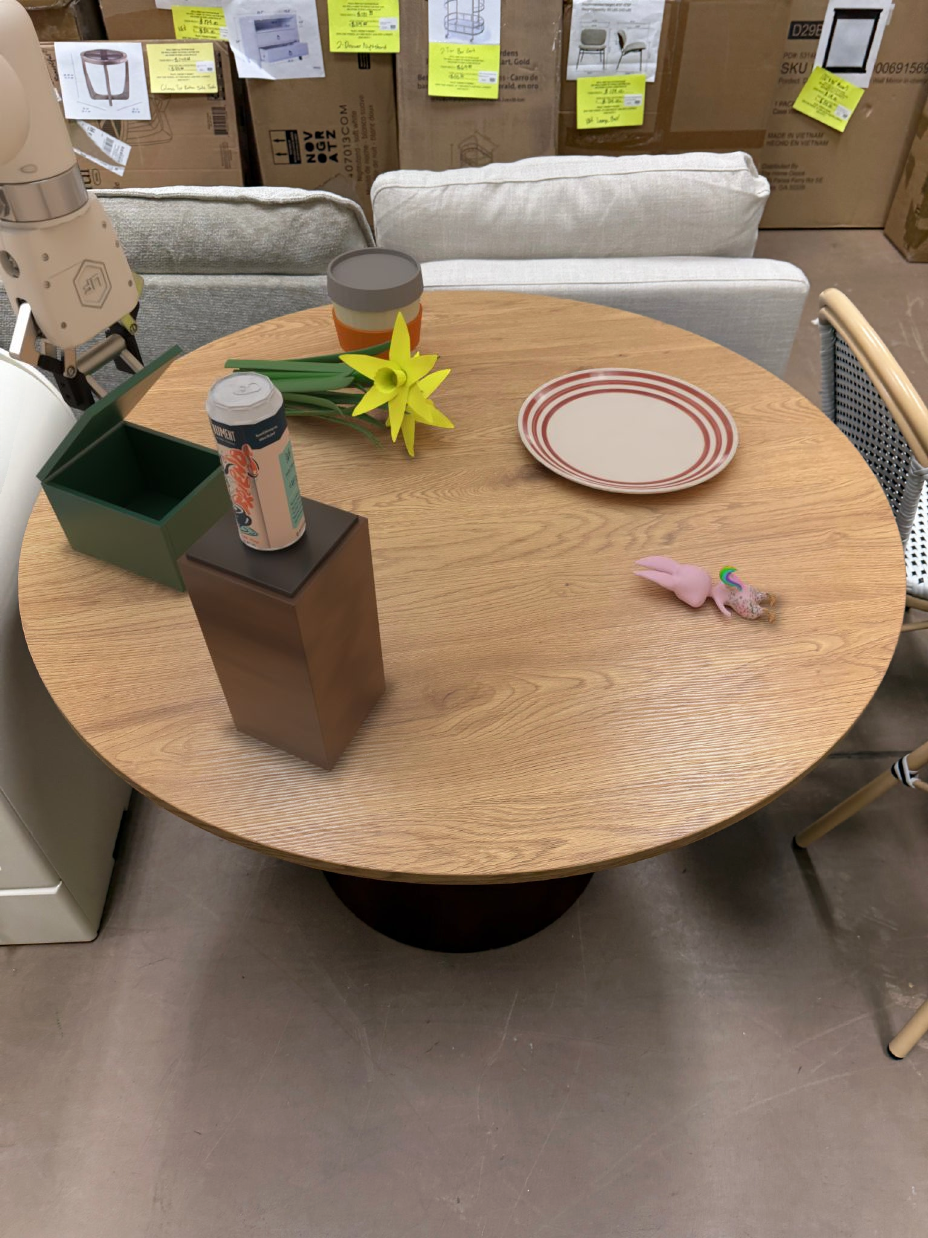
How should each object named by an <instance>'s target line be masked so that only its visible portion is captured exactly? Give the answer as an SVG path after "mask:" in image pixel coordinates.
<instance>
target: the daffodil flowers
mask: <svg viewBox="0 0 928 1238" xmlns="http://www.w3.org/2000/svg"><path fill="white" fill-rule="evenodd" d="M388 349H390V352H389V360H390V361H388V360H383V359H379V358H375V357H374V356H376V355H379V354H381V353H383V352H385V351H386V350H388ZM439 358H441V355H438V354H423V355H422V354H421V355H420V351H419V350H418V351H417V352H415V356H414V357H413V358H411V357H410V337H409V333H408V329H407V325H406V323H405V320H404V318H403V316H402V314H401V312H400V311H399V313H398V315H397V319H396V322H395V326H394V330H393V335H392V340H390V341H387V342H385V343H382V344H379V345H376V346H373V347H369V348H365V349H361V350H355V351H349V352H345V351H343V352H338V353H331V354H324V355H315V356H308V357H300V358H290V359H278V360H277V359H275V360H270V359H238V358H237V359H236V358H234V359H233V358H232V359H231V358H228V359H227V360H226V361H225V362H224V366H223V367H224V369H233V370H232V373H239V372H255V373H258V374H261V375H264V376H267V377H268V378H269V379H270V381H271V382H272V383H273V385H274V386H275V387H276V388H277V389H278V390H279V391H280V393H281V395H282V398H283V403H284V409H285V414H286V417H305V416H306V417H307V416H308V417H309V416H310V417H314V418H317V419H318V418H319V419H322V420H327V421H331V422H335V423H338V424H341V425H344V426H348V427H351V428H354V429H355V430H357V431H359V432H361V433H363V434H364V435H366V436H367V438H369V439H370V440H371V441H373V442H374V443H375V444H376V445H377V446H378V447H379V448H380V449H381V450H382V451H384V452H386V449H385V448H384V446H383V445H382V444H381V442H379V440H378V439H377V438H376V437H375V436H374V435H373V433H371V432H370V431H368V430H367V429H365V428H364V427H363V426H361V425H358V424H356V423H353V422H351V421H347V420H344V419H346V416H347V417H351V418H355V419H358V420H361V421H364V422H368V423H370V424H374V425H376V426H379V427H383V428H388V427H390V435H391V439H392V442H393V443H395V442H396V441H397V437H398V434H399V432H400V429H401V432H402V436H403V440H404V443H405V447H406V450H407V452H408V454H409V455H410V457H412V458H414V457H415V451H414V445H415V432H416V431H415V430H416V422H417V423H422V424H425V425H429V426H434V427H438V428H447V429H455V425H454V423H453V422H452V421H451V420H450V419H449V418H448V417H446V416H445V415H444V414H443V413H442V412H441V411H440V410H438V409H437V408H436V406H435V405H434V404H435V403H434V402H433V400H432V399H430V398H429V396H430V395H431V394H432V393H433V392H435V390H436V389H437V388H438V387H439V386H440V385H441V384H442V382H443V381H444V380H445V379H446V378H447V376H448V375H449V374H450V372H451V370H452V368H446V369H441V370H437V371H435V372H432V373H430V374H428V373H429V372H430V371H431V370H433V368H434V366H435V364H436V362H437V360H439ZM427 374H428V375H427ZM423 377H424V378H423ZM342 389H343V390H344V389H358V390H360V391H362V392H363V393H350V392H341V391H340V390H342ZM367 389H368V391H367ZM340 405H349V406H348V407H346V406H345V407H344V406H340ZM351 405H352V406H351ZM293 407H294V408H293ZM299 408H301V409H299ZM302 409H307V410H302ZM373 409H378V410H383V411H387V412H388V417H387V418H386V421H385V423H383V422H380V420H378V419H376V418H375V417H373V416H371V415H370V414H367V412H370V411H372V410H373ZM333 416H342V417H343V418H344V419H341V418H337V417H333Z"/></svg>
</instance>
